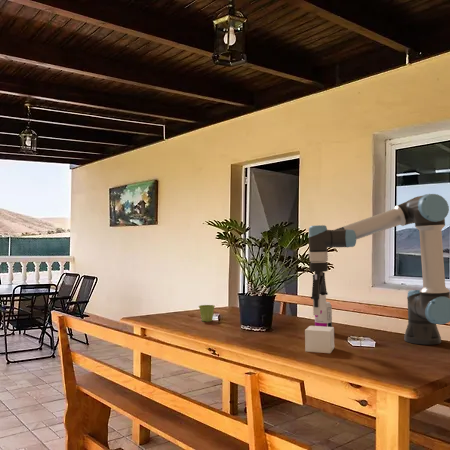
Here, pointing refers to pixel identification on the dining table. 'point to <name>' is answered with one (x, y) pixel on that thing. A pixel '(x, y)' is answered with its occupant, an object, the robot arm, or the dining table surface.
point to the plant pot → (206, 312)
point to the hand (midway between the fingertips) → (320, 312)
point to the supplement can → (324, 317)
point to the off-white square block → (319, 339)
